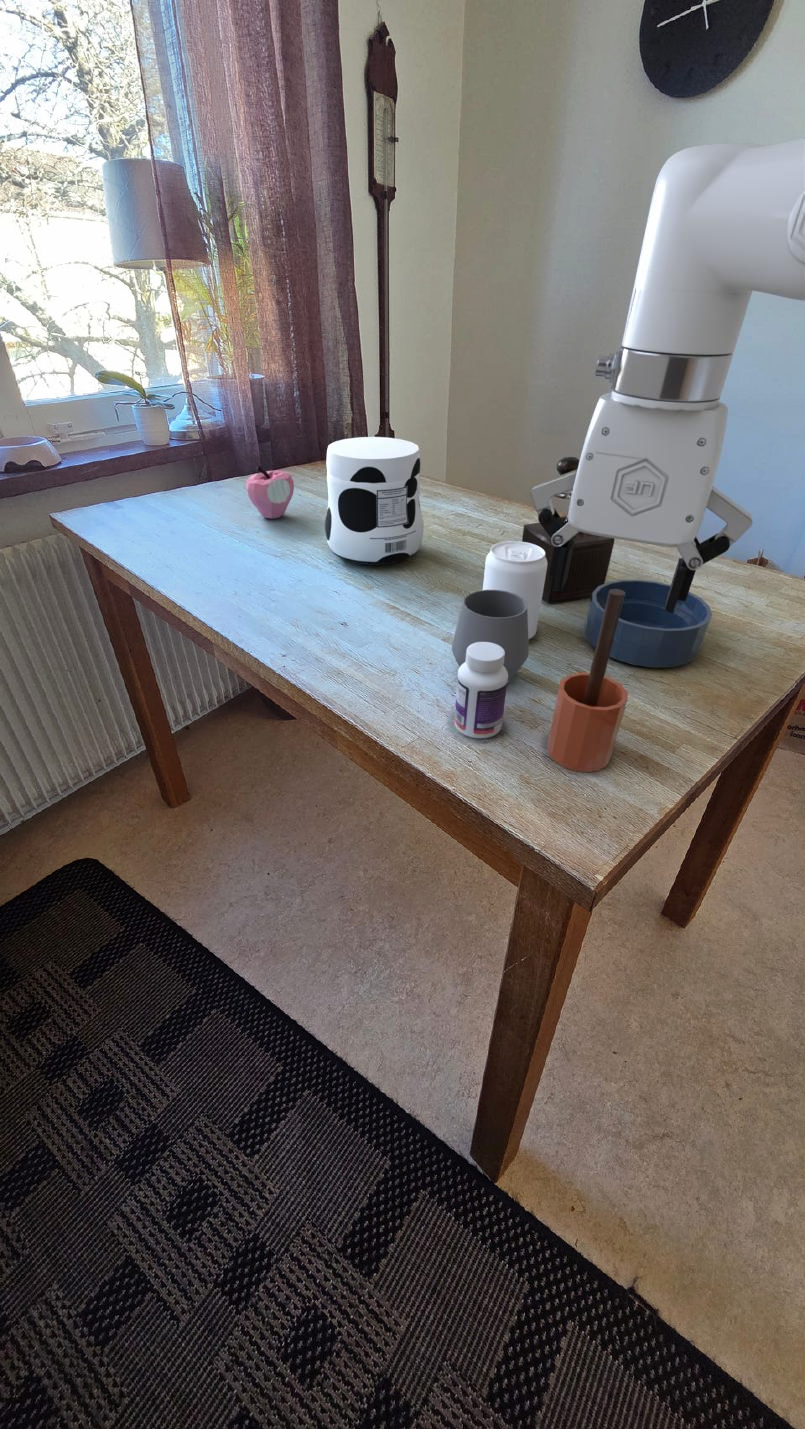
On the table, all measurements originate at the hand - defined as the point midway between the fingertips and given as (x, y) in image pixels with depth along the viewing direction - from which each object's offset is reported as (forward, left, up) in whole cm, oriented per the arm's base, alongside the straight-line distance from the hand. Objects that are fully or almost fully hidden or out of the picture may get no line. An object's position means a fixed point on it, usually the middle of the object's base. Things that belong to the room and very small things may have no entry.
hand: (613, 595), depth 54 cm
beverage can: (+26, -6, -18) cm, 32 cm away
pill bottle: (+8, +8, -18) cm, 21 cm away
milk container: (+60, +2, -18) cm, 63 cm away
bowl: (+17, -22, -18) cm, 33 cm away
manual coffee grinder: (+39, -22, -18) cm, 48 cm away
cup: (+17, +2, -18) cm, 25 cm away
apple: (+86, +15, -18) cm, 89 cm away
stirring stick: (0, 0, -18) cm, 18 cm away
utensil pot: (0, 0, -18) cm, 18 cm away
